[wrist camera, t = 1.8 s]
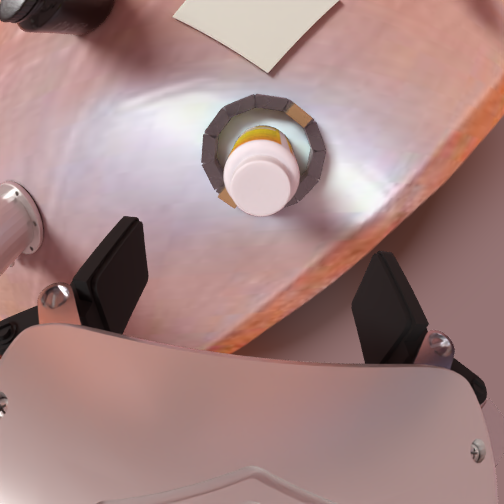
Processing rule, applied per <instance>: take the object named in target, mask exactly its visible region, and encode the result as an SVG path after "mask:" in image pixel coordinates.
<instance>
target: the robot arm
mask: <svg viewBox="0 0 504 504" xmlns="http://www.w3.org/2000/svg"><path fill="white" fill-rule="evenodd" d="M42 241H43V225H42V220H41V217H40V214H39V211H38V209H37V207H36V205H35V203H34V201H33V199H32V198H31V196H30V195H29V194H28V193H27V191H26V190H25V189H24V188H23V187H21V186H20V185H19V184H17V183H15V182H12V181H6V182H4V183H2V184H1V185H0V276H1V275H2V274H3V272H4V271H5V270H6V269H7V268H8V267H9V266H10V267H13V266H14V264H15V259H16V258H17V257H18V256H19V255H20V254H21V253H24V254H32V253H34V252H35V251H36V250H37V249H38V248H39V247H40V246H41V244H42ZM147 281H148V268H147V260H146V251H145V242H144V232H143V223H142V222H141V221H139V219H138V218H137V217H129V216H124V217H123V218H122V219H121V220H120V221H119V222H118V223H117V224H116V226H115V227H114V228H113V229H112V230H111V231H110V233H109V234H108V235H107V236H106V237H105V238H104V240H103V241H102V242H101V243H100V244H99V246H98V247H97V248H96V249H95V251H94V252H93V253H92V254H91V256H90V257H89V258H88V259H87V261H86V262H85V263H84V264H83V266H82V267H81V268H80V270H79V271H78V272H77V274H76V275H75V276H74V278H73V281H72V283H71V284H70V285H68V284H66V283H54V284H51V285H49V286H47V287H46V288H45V289H43V291H42V292H41V293H40V295H39V297H38V302H37V303H38V306H35V307H33V308H30V309H28V310H25V311H23V312H20V313H18V314H16V315H13V316H11V317H8V318H6V319H4V320H2V321H0V504H498V491H497V480H496V479H497V478H496V471H495V467H496V466H497V464H498V462H499V460H500V459H501V457H502V455H503V454H504V417H503V415H502V414H501V412H500V411H499V410H498V408H497V407H496V406H495V404H494V403H493V402H492V401H491V400H490V398H488V399H487V400H486V396H487V391H486V387H485V384H484V382H483V381H482V380H481V379H480V378H479V377H478V376H477V375H475V374H474V373H473V372H471V371H470V370H469V369H468V368H466V367H465V366H464V365H462V364H461V363H460V362H458V361H457V360H456V359H454V353H455V348H454V345H453V343H452V341H451V339H450V338H449V337H448V336H447V335H446V334H444V333H443V332H441V331H438V330H430V331H427V328H426V327H427V326H428V324H429V323H428V321H427V319H426V317H425V315H424V313H423V310H422V308H421V306H420V304H419V302H418V300H417V298H416V296H415V294H414V292H413V290H412V288H411V286H410V285H409V282H408V281H407V279H406V277H405V275H404V273H403V271H402V269H401V268H400V266H399V264H398V262H397V260H396V259H395V257H394V255H393V254H392V253H391V252H384V251H378V252H377V254H374V255H373V257H372V259H371V261H370V263H369V266H368V268H367V271H366V273H365V275H364V277H363V280H362V282H361V284H360V286H359V288H358V290H357V293H356V295H355V297H354V299H353V301H352V312H353V316H354V319H355V324H356V327H357V331H358V335H359V339H360V343H361V348H362V352H363V356H364V360H365V364H344V363H319V362H303V361H289V360H276V359H266V358H257V357H248V356H239V355H232V354H224V353H217V352H211V351H204V350H198V349H192V348H186V347H180V346H175V345H170V344H164V343H159V342H154V341H150V340H145V339H140V338H136V337H131V336H126V335H122V334H123V332H124V330H125V327H126V325H127V323H128V321H129V319H130V317H131V314H132V312H133V310H134V308H135V306H136V304H137V302H138V300H139V298H140V296H141V294H142V292H143V290H144V288H145V286H146V284H147Z"/></svg>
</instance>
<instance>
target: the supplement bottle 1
mask: <svg viewBox="0 0 504 504" xmlns="http://www.w3.org/2000/svg"><path fill="white" fill-rule="evenodd" d="M113 4H114V0H1V2H0V20H1V21H3V22H11V23H17V24H18V26H19V27H20V29H22V30H23V31H25V32H34V33H59V34H73V35H81V34H86V33H88V32H90V31H92V30H94V29H95V28H97V27H98V26H99V25H100V24H101V23H102V22H103V21H104V20H105V19H106V18H107V16H108V15H109V13H110V11H111V9H112V7H113Z"/></svg>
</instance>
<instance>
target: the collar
mask: <svg viewBox="0 0 504 504" xmlns="http://www.w3.org/2000/svg"><path fill="white" fill-rule="evenodd" d="M287 100H288V99H287V98H282V97H276V96H269V95H262V94H256V97H255V96H254V94H253V95H250V96H248V97H245V98H243V99H240V100H238V101H235V102H233V103H231V104H228V105H226V106H224V107H223V108H222V109H221V110H220V111H219V113H218V114H217V115H216V117H215V118H214V119H213V121H212V122H211V123H210V125H209V126H208V128H207V129H206V130H205V134H203V146H202V160H201V163H203V164H202V166H203V168H204V170H205V172H206V174H207V176H208V178H209V180H210V182H211V184H212V186H213V188H214V190H215V189H217V190H216V192H218V193H219V195H218V198H220V199H221V200H223V201H224V202H226V203H227V204H228V205H230V206H231V207H233V208H234V209H235V208H236V206H237V205H236V204H235V202H234V201H233V199H232V198H231V196H230V195H229V193H228V192H227V190H226V187H225V184H224V178H223V174H224V172H223V170H222V168H221V166H220V164H219V162H218V160H217V147H218V136H219V134H220V132H221V131H222V130H223V128H224V127H225V126H226V124H227V123H228V122H229V120H230V119H231V118H232V117H233V116H235V115H238V114H240V113H243V112H245V111H248V110H250V109H253V108H256V107H258V108H266V109H273V110H279V111H284V112H285V113H286V114H287V115H288V116H290V117H291V118H292V119H293V120H295V121H296V122H297V123H298V124H300V125H301V126H302V127H303V128H304V131H305V134H306V136H307V139H308V142H309V144H310V147H311V149H310V154H309V159H308V164H307V169H306V171H305V172H304V173H303V174H302V175H301V177H300V180H299V185H298V188H297V191H296V193H295V194H294V196H293V197H292V198H291V200H290V201H289V202H287V204H286V205H285V206H284V207H286V206H289V205H292V204H295V203H297V200H298V201H300V200H301V199H302V198H303V197H304V196H305V195H306V194H307V193H308V192H309V191H310V190H311V189H312V188H313V187H314V186H315V185H316V184H317V182H318V179H320V176H321V171H322V167H323V162H324V158H325V153H326V152H325V150H326V149H325V146H324V143H323V140H322V137H321V134H320V132H319V129H318V126H317V123H316V122H315V121H314V119H313V118H312V117H311V116H309V115H308V114H307V113H306V112H305V111H303V110H302V109H301V108H300V107H298V106H297V105H296V104H295V103H293V102H292V101H291V100H288V101H287Z"/></svg>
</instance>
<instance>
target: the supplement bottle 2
mask: <svg viewBox="0 0 504 504" xmlns="http://www.w3.org/2000/svg"><path fill="white" fill-rule="evenodd" d="M223 178H224V184H225V187H226V190H227V192H228V193H229V195H230V196H231V198H232V199H233V201H234V202H235V204H236V205H237V206H238V207H239V208H240V209H241V210H242V211H244V212H245V213H247V214H250V215H253V216H269V215H272V214H275V213H277V212H278V211H280V210H281V209H282V208H283V207H284V206H285V205H286V204H287V202H289V201H290V200H291V198H292V197H293V196H294V194H295V193H296V191H297V188H298V185H299V180H300V172H299V167H298V163H297V160H296V158H295V155H294V152H293V149H292V147H291V144H290V142H289V140H288V138H287V137H286V136H285V135H284V134H283V133H282V132H281V131H279V130H278V129H276V128H274V127H271V126H264V125H260V126H255V127H252V128H249V129H248V130H246V131H245V132H243V133H242V134H241V135H240V137H239V138H238V139H237V141H236V143H235V145H234V147H233V149H232V151H231V153H230V155H229V157H228V159H227V161H226V164H225V167H224V174H223Z"/></svg>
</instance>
